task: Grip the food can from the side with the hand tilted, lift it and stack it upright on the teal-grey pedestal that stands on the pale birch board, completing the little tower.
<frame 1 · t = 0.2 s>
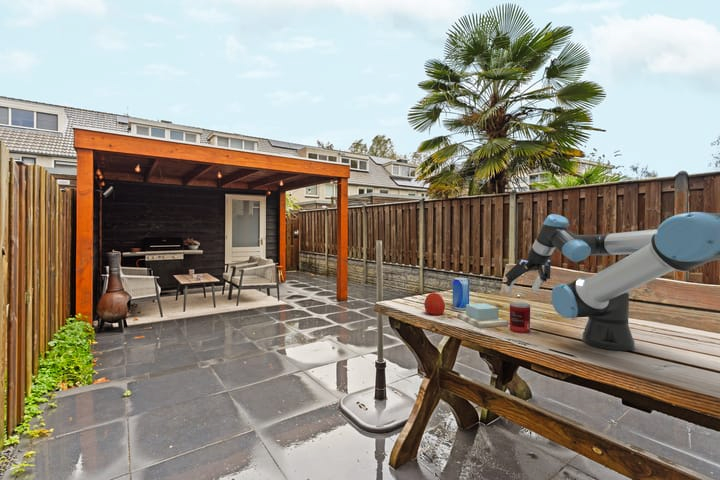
hand: (520, 290, 146), 15 cm above the table, tool tilted 35°, fingers open, 13 cm apart
apple: (434, 314, 167), on the table
pedestal: (481, 311, 152), on the board, point 4 cm above the table
canned food: (519, 330, 138), on the table
beer can: (460, 309, 177), on the table
board: (481, 321, 152), on the table
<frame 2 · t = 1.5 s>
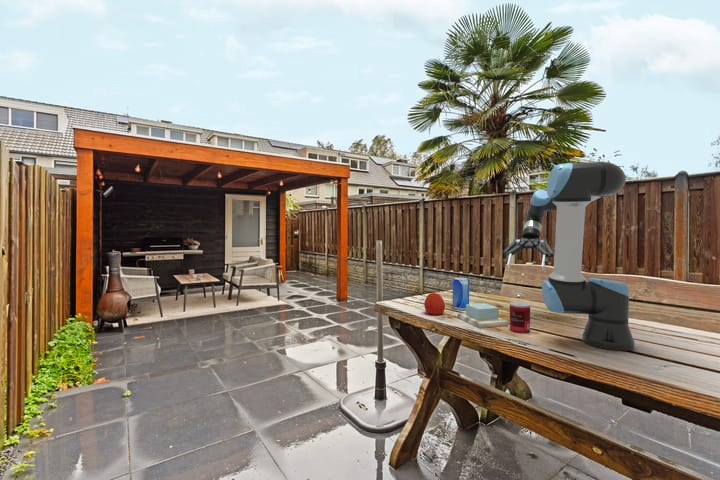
hand: (525, 267, 146), 25 cm above the table, tool tilted 45°, fingers open, 13 cm apart
nothing on the table moved.
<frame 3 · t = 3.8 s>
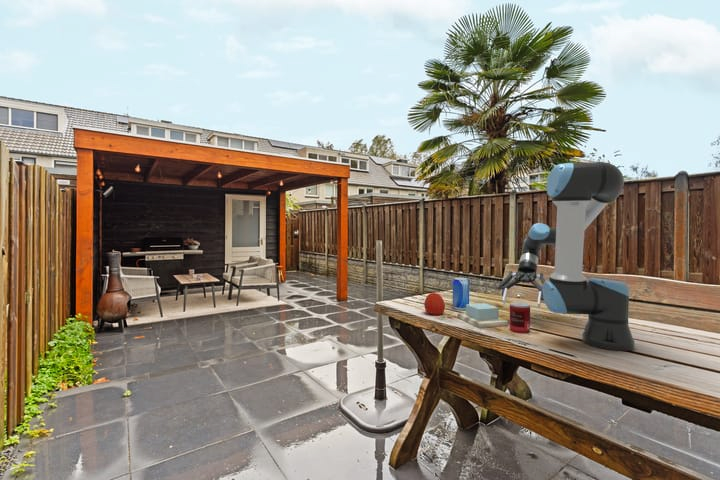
hand: (520, 303, 143), 10 cm above the table, tool tilted 45°, fingers open, 13 cm apart
nothing on the table moved.
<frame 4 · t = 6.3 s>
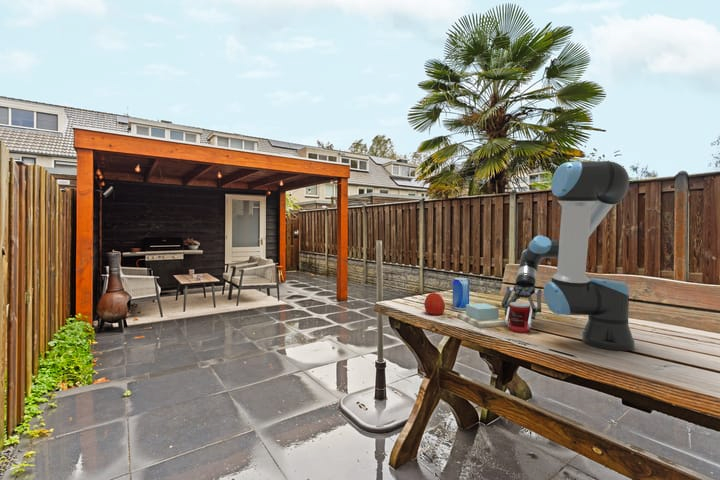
hand: (517, 323, 135), 4 cm above the table, tool tilted 45°, fingers closed on canned food, 8 cm apart
canned food: (519, 330, 138), on the table, touching gripper
everything else where it was.
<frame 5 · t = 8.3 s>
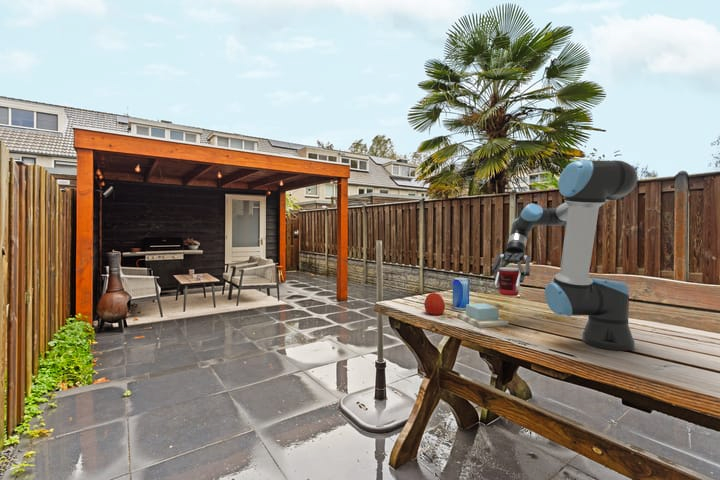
hand: (506, 286, 140), 18 cm above the table, tool tilted 45°, fingers closed on canned food, 8 cm apart
canned food: (508, 294, 143), point 14 cm above the table, touching gripper
everything else where it was.
when the fingers open (12 cm above the table, at t = 10.6 s): canned food stays where it is, resting on pedestal.
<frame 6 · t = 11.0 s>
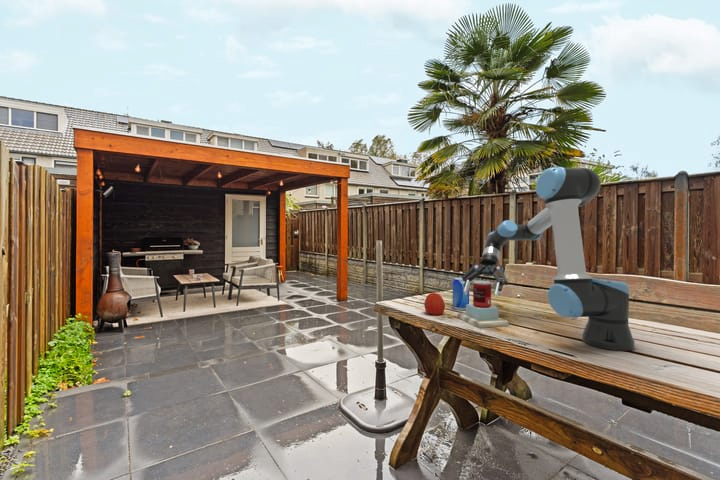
hand: (480, 294, 150), 13 cm above the table, tool tilted 45°, fingers open, 13 cm apart
canned food: (482, 306, 152), point 7 cm above the table, touching pedestal
everything else where it was.
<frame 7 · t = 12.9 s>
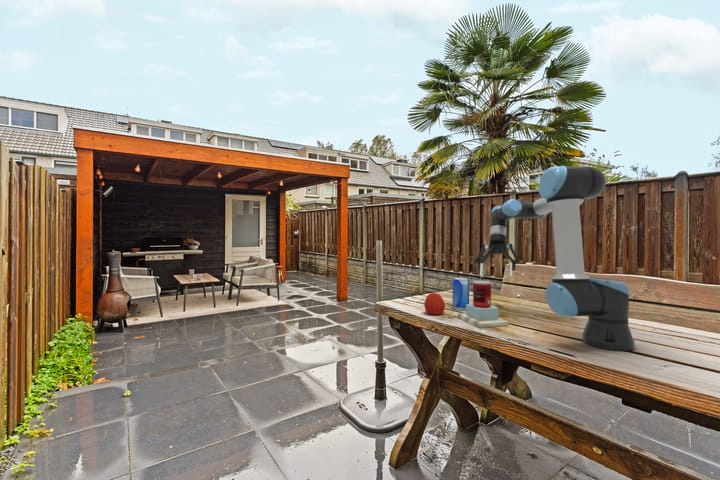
hand: (495, 276, 160), 19 cm above the table, tool tilted 25°, fingers open, 13 cm apart
nothing on the table moved.
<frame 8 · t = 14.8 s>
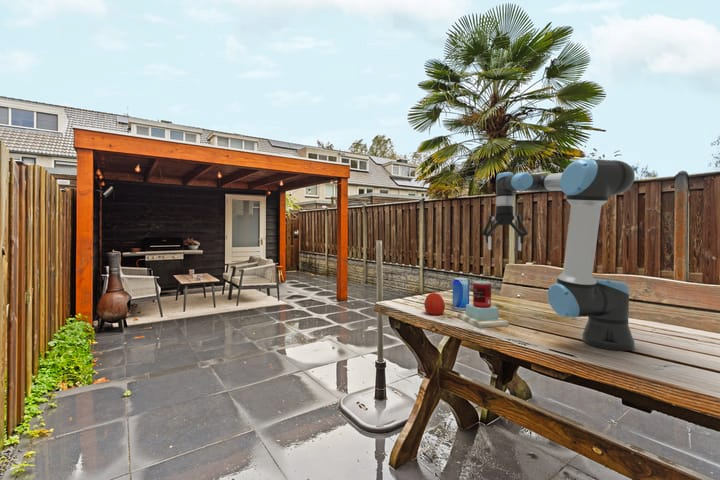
hand: (504, 250, 161), 32 cm above the table, tool pointing down, fingers open, 13 cm apart
nothing on the table moved.
at the end: canned food inside the target area on the pedestal (0.1 cm from its centre), point 6.8 cm above the pedestal's base; canned food tilted 0°; the gripper is holding nothing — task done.
